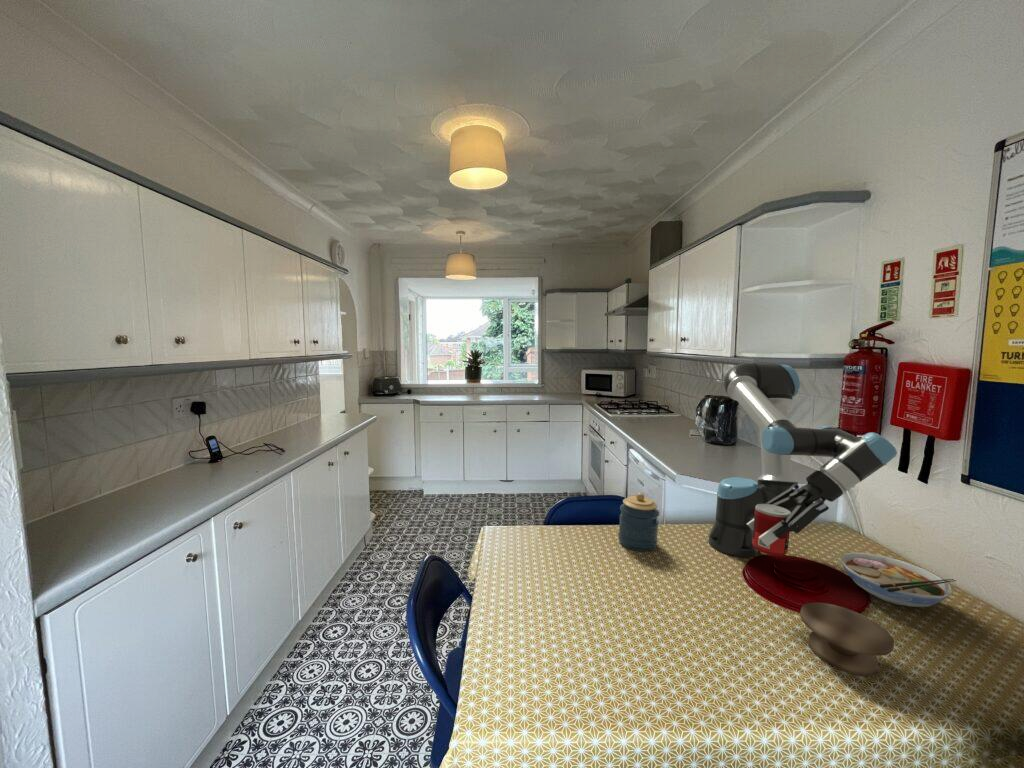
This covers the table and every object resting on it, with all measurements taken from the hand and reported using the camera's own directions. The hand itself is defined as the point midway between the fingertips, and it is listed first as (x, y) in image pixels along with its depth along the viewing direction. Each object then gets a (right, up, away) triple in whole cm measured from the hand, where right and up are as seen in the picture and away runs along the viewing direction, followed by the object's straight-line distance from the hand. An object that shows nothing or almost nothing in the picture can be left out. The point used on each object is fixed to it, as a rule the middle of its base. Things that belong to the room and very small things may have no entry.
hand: (756, 534), depth 109 cm
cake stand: (+8, -20, -18) cm, 28 cm away
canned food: (+3, -4, 0) cm, 5 cm away
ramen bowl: (+40, -20, +6) cm, 45 cm away
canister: (-21, -15, +33) cm, 42 cm away
